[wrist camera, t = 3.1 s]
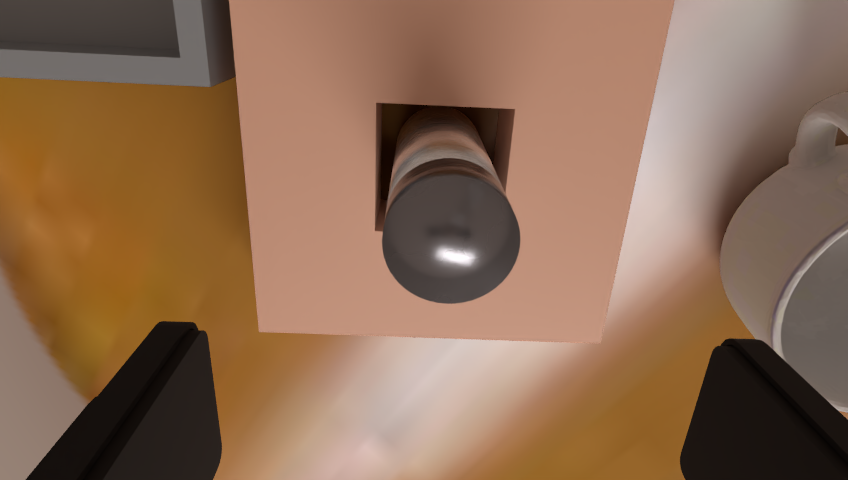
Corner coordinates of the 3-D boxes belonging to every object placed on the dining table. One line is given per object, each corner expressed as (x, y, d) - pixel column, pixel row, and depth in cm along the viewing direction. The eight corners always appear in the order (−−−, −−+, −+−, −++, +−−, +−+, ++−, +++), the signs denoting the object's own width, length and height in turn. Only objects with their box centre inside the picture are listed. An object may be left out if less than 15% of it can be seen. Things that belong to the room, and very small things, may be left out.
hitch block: (639, -31, 23) (682, -37, 19) (577, 300, 29) (600, 343, 25) (255, -52, 22) (223, -62, 18) (279, 289, 29) (259, 331, 25)
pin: (483, 107, 25) (528, 180, 15) (476, 190, 26) (512, 306, 16) (397, 103, 25) (382, 174, 15) (395, 186, 26) (380, 301, 16)
